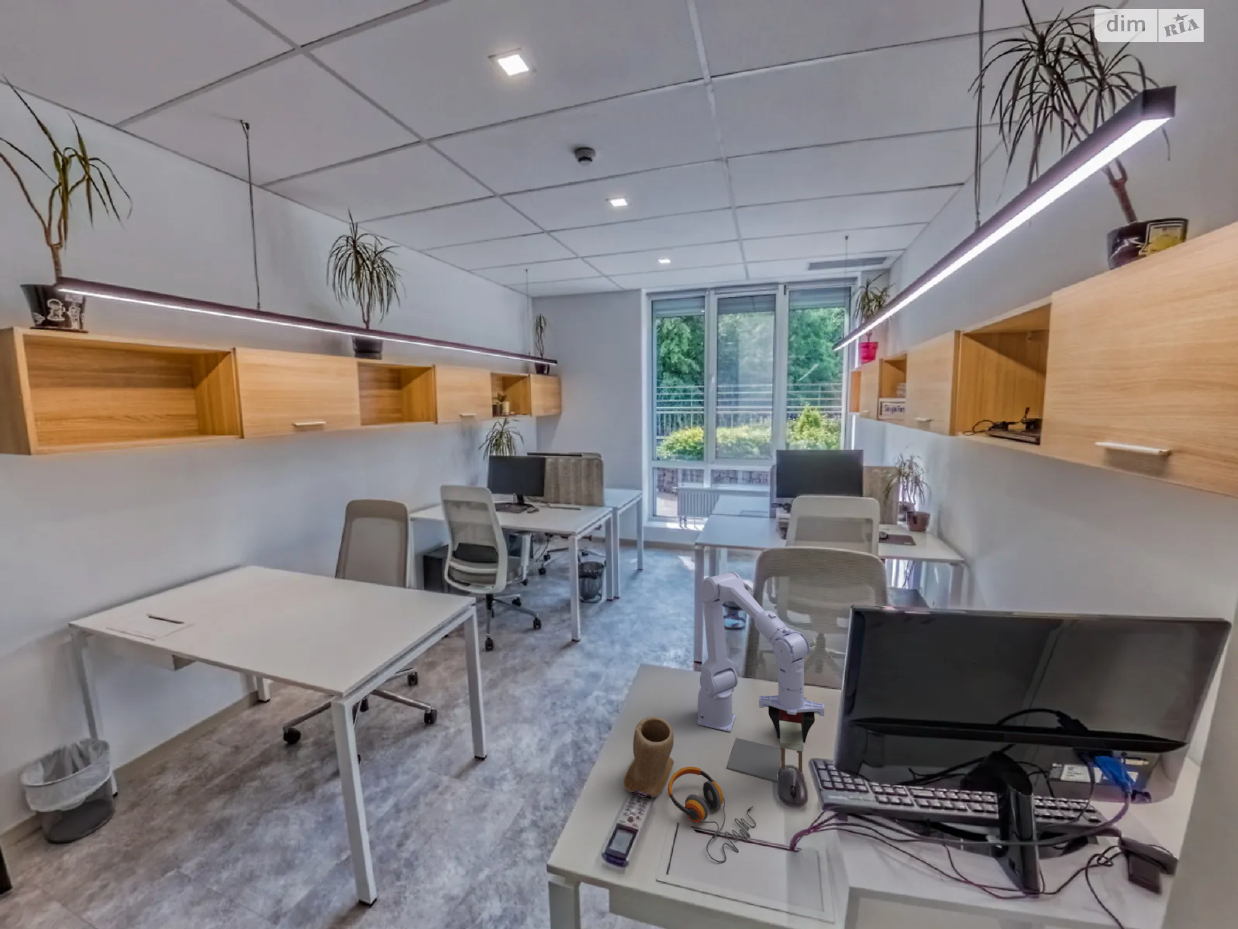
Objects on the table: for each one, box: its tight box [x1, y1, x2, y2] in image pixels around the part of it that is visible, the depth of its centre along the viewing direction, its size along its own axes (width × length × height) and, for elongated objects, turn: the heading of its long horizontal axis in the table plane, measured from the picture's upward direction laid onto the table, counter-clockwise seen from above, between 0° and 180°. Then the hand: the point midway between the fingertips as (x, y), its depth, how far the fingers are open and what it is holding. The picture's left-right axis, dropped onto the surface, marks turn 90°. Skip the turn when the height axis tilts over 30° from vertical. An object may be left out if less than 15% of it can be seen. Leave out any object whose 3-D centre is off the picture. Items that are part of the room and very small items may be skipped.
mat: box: [726, 737, 781, 783], centre depth 123 cm, size 12×12×1 cm
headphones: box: [667, 766, 757, 864], centre depth 106 cm, size 17×5×20 cm
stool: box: [779, 721, 804, 773], centre depth 116 cm, size 5×8×7 cm, turn 163°
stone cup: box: [622, 716, 675, 798], centre depth 117 cm, size 15×12×15 cm
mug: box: [779, 696, 807, 728], centre depth 131 cm, size 10×8×10 cm
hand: (790, 738), depth 116 cm, fingers closed on stool, 5 cm apart
